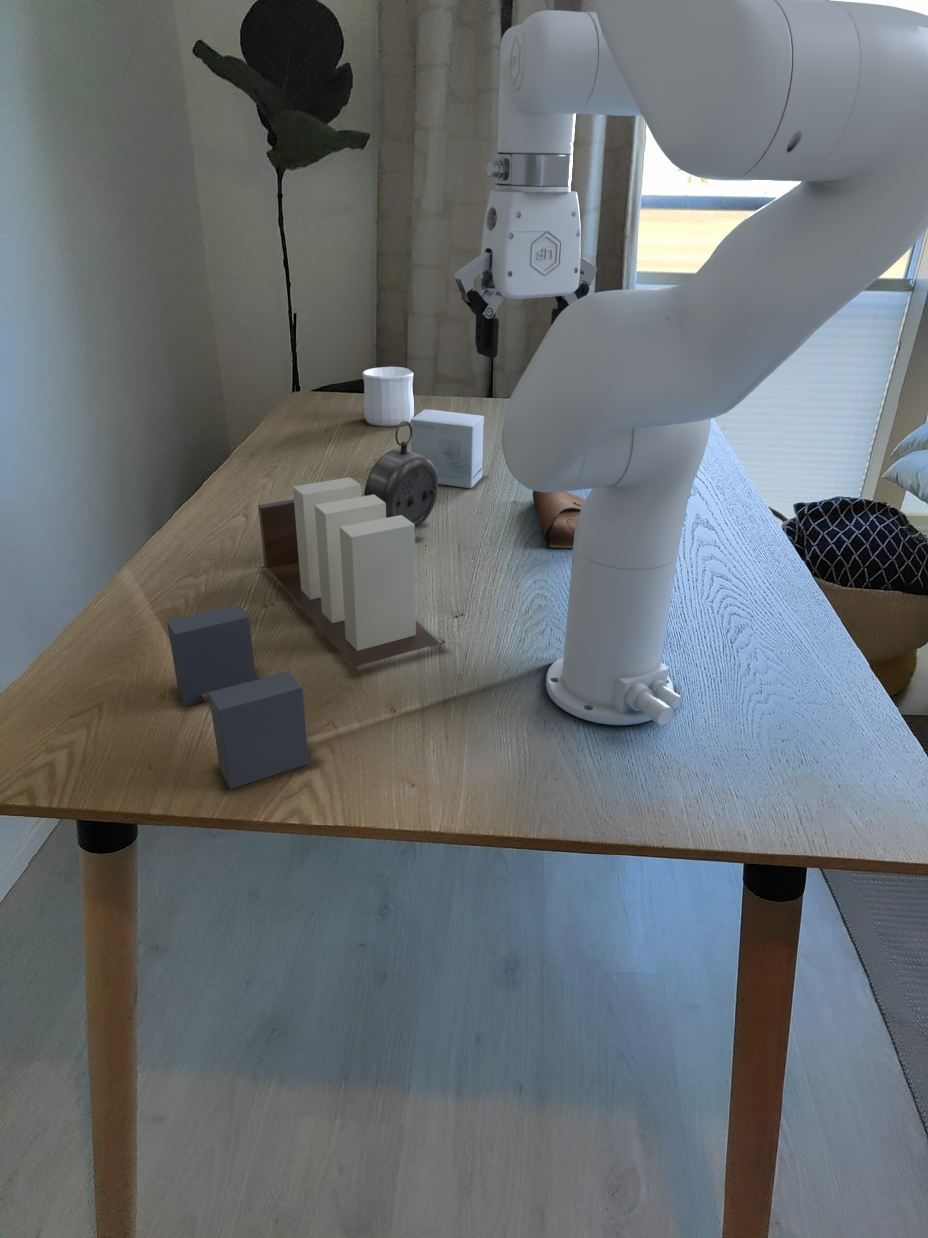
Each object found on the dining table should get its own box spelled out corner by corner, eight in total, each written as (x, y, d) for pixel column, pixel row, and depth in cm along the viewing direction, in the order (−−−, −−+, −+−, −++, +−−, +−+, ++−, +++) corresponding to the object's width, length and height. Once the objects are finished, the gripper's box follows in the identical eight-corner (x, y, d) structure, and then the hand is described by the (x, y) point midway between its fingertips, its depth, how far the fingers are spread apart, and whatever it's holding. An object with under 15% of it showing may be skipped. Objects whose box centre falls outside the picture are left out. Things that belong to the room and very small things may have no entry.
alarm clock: (416, 520, 125) (416, 409, 117) (444, 529, 122) (445, 417, 114) (363, 542, 117) (358, 425, 110) (391, 553, 114) (389, 434, 107)
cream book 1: (365, 587, 103) (360, 484, 97) (310, 600, 100) (302, 494, 94) (354, 577, 105) (350, 476, 99) (301, 589, 102) (292, 486, 96)
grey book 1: (257, 687, 85) (249, 616, 81) (186, 706, 82) (174, 634, 78) (247, 673, 87) (239, 604, 84) (178, 691, 84) (166, 620, 80)
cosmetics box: (410, 481, 140) (409, 417, 135) (424, 469, 145) (424, 408, 140) (471, 489, 137) (472, 424, 132) (483, 477, 142) (485, 414, 137)
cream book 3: (415, 635, 93) (414, 524, 87) (356, 651, 90) (351, 537, 84) (403, 623, 95) (401, 514, 89) (345, 638, 92) (339, 526, 86)
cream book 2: (388, 609, 98) (385, 502, 92) (332, 623, 95) (325, 514, 89) (377, 599, 100) (374, 494, 94) (321, 612, 97) (314, 504, 91)
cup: (423, 419, 173) (422, 370, 168) (393, 430, 165) (392, 379, 161) (385, 411, 177) (383, 363, 173) (354, 422, 170) (352, 372, 165)
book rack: (440, 650, 92) (440, 575, 88) (355, 674, 88) (351, 596, 83) (337, 556, 113) (334, 491, 109) (264, 571, 109) (257, 505, 104)
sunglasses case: (606, 545, 117) (584, 505, 114) (560, 569, 118) (538, 530, 115) (585, 499, 133) (566, 463, 130) (545, 520, 134) (525, 485, 131)
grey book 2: (309, 764, 75) (302, 687, 71) (230, 789, 71) (218, 710, 68) (296, 746, 77) (289, 670, 73) (219, 770, 74) (208, 692, 70)
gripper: (479, 175, 78) (474, 365, 87) (625, 176, 86) (608, 350, 95) (439, 173, 84) (438, 351, 92) (579, 174, 92) (567, 339, 100)
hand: (524, 351), depth 93 cm, fingers open, 9 cm apart
